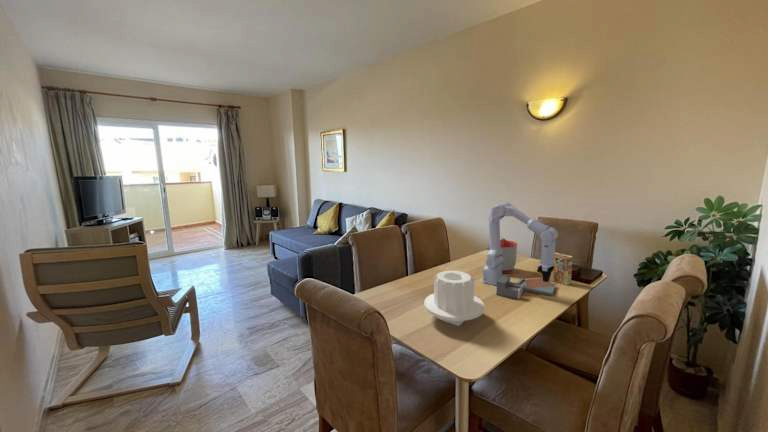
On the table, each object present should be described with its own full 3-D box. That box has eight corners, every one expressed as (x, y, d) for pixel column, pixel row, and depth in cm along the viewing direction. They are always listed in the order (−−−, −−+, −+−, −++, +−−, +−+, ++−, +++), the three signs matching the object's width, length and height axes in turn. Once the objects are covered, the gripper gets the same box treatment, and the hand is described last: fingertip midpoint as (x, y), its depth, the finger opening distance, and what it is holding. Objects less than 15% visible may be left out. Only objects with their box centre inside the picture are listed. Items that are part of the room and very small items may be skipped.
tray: (515, 289, 162) (515, 286, 161) (520, 280, 172) (520, 278, 172) (552, 296, 152) (552, 293, 152) (555, 286, 163) (555, 284, 162)
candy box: (571, 283, 166) (573, 256, 163) (566, 285, 164) (569, 257, 161) (554, 278, 173) (556, 252, 171) (550, 280, 171) (552, 253, 168)
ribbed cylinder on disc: (441, 299, 152) (442, 262, 149) (492, 314, 137) (494, 273, 133) (413, 321, 133) (412, 279, 130) (468, 341, 118) (469, 294, 114)
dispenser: (496, 294, 156) (496, 281, 155) (501, 287, 164) (502, 274, 163) (518, 299, 150) (519, 285, 149) (522, 291, 158) (523, 278, 157)
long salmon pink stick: (527, 288, 154) (524, 279, 154) (527, 287, 155) (525, 278, 155) (551, 286, 148) (549, 277, 148) (552, 285, 149) (549, 276, 149)
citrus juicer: (490, 263, 200) (491, 233, 196) (519, 268, 190) (520, 236, 186) (482, 271, 188) (483, 239, 184) (512, 277, 178) (513, 243, 174)
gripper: (555, 259, 139) (553, 287, 141) (559, 250, 151) (557, 277, 153) (538, 256, 143) (536, 284, 145) (543, 248, 155) (541, 274, 157)
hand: (546, 280), depth 149 cm, fingers closed on long salmon pink stick, 1 cm apart
